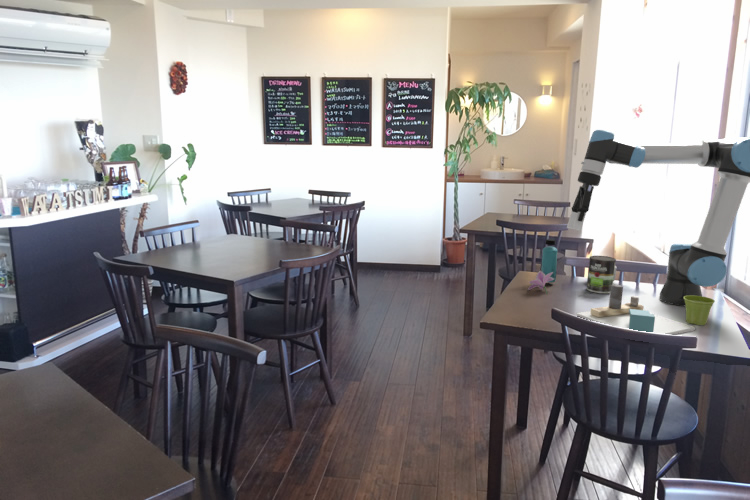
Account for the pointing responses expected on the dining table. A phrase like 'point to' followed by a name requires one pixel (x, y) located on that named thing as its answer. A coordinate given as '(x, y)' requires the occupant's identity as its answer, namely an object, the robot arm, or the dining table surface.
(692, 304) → the plant pot
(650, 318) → the block
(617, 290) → the link
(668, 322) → the base board
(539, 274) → the lily
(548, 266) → the beverage bottle
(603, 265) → the coffee can
